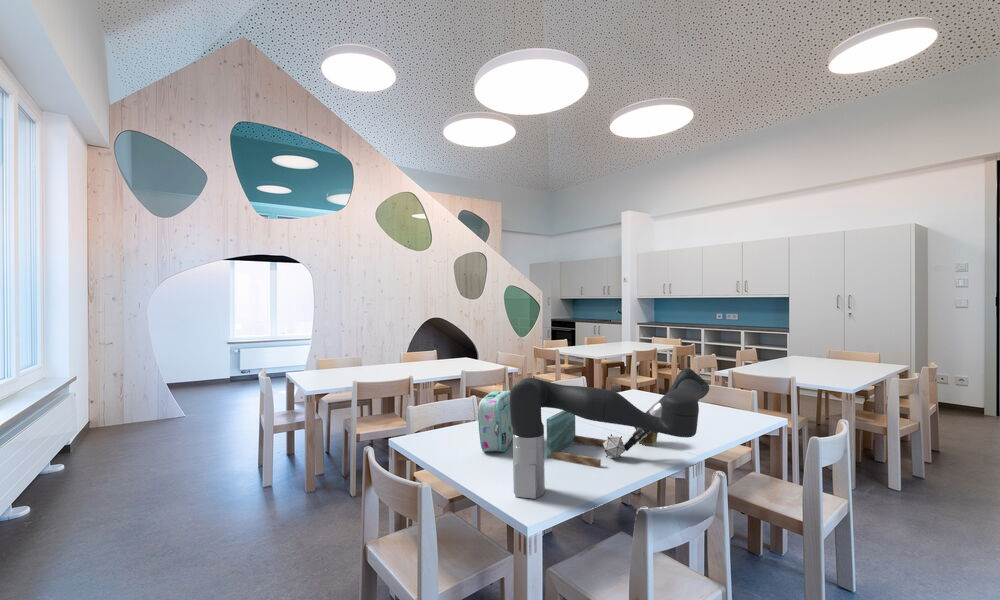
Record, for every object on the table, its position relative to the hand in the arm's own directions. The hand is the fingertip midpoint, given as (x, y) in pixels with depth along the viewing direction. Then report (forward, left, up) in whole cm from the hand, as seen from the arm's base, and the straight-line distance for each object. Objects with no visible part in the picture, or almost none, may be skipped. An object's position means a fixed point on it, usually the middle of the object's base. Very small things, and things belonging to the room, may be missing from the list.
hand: (625, 448), depth 162 cm
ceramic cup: (+20, -6, -4) cm, 22 cm away
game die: (-2, +4, -4) cm, 5 cm away
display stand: (+1, +14, -3) cm, 15 cm away
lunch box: (+2, +49, -4) cm, 49 cm away
